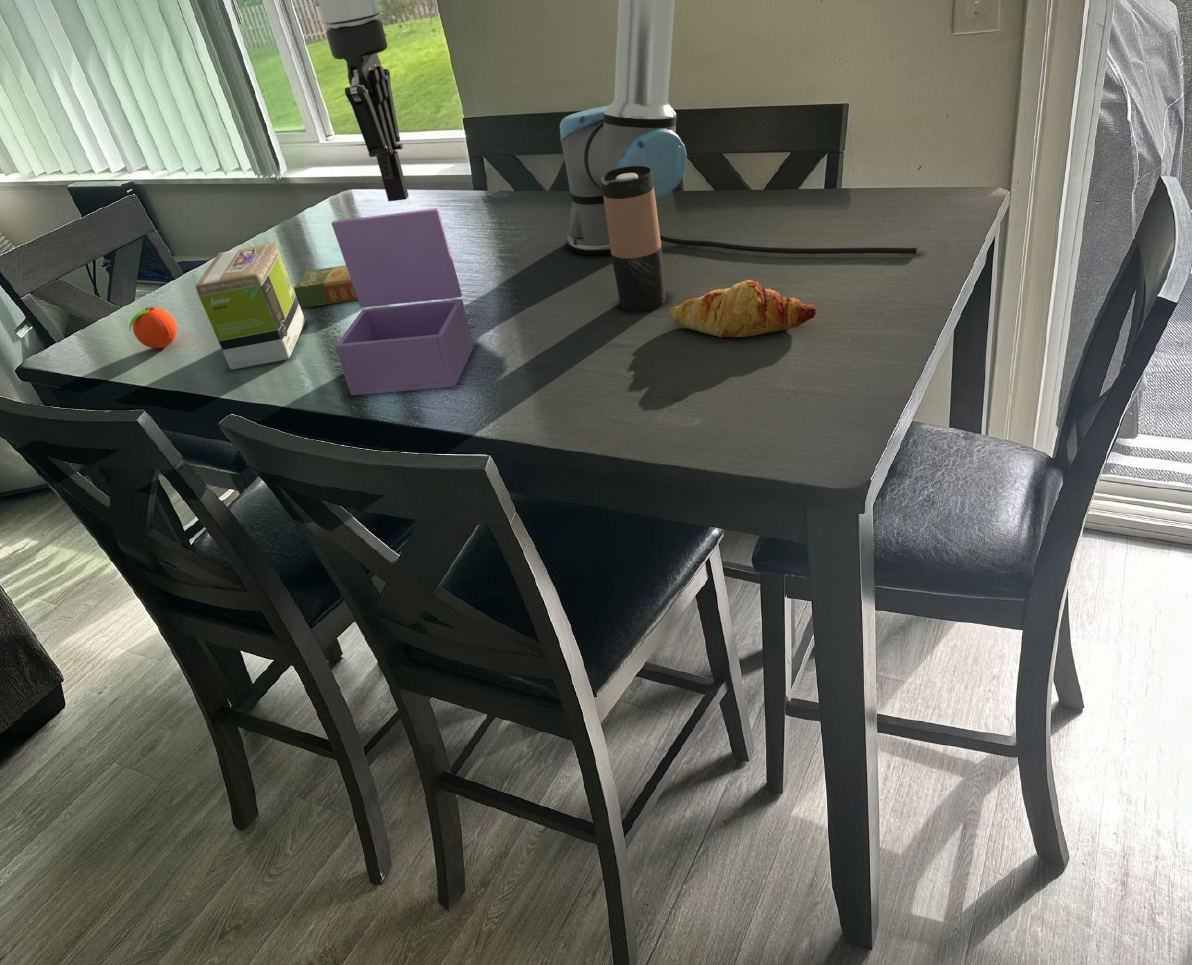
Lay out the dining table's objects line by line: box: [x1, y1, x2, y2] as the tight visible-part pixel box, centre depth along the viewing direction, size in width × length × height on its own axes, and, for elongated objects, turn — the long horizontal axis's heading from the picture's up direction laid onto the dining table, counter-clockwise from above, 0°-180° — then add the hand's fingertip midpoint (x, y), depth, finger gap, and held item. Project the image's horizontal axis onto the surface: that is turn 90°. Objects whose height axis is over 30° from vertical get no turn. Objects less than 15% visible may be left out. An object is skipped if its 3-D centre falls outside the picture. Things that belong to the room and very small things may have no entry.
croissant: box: [669, 279, 817, 338], centre depth 132 cm, size 21×10×8 cm, turn 70°
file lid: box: [331, 208, 463, 308], centre depth 134 cm, size 13×16×1 cm
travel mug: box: [601, 166, 666, 312], centre depth 140 cm, size 8×8×20 cm
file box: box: [334, 298, 475, 396], centre depth 135 cm, size 13×16×8 cm
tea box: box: [195, 241, 306, 370], centre depth 150 cm, size 15×10×15 cm, turn 5°
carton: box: [293, 264, 359, 309], centre depth 168 cm, size 8×16×4 cm, turn 89°
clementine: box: [128, 306, 178, 349], centre depth 159 cm, size 8×7×7 cm
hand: (398, 198), depth 136 cm, fingers closed
